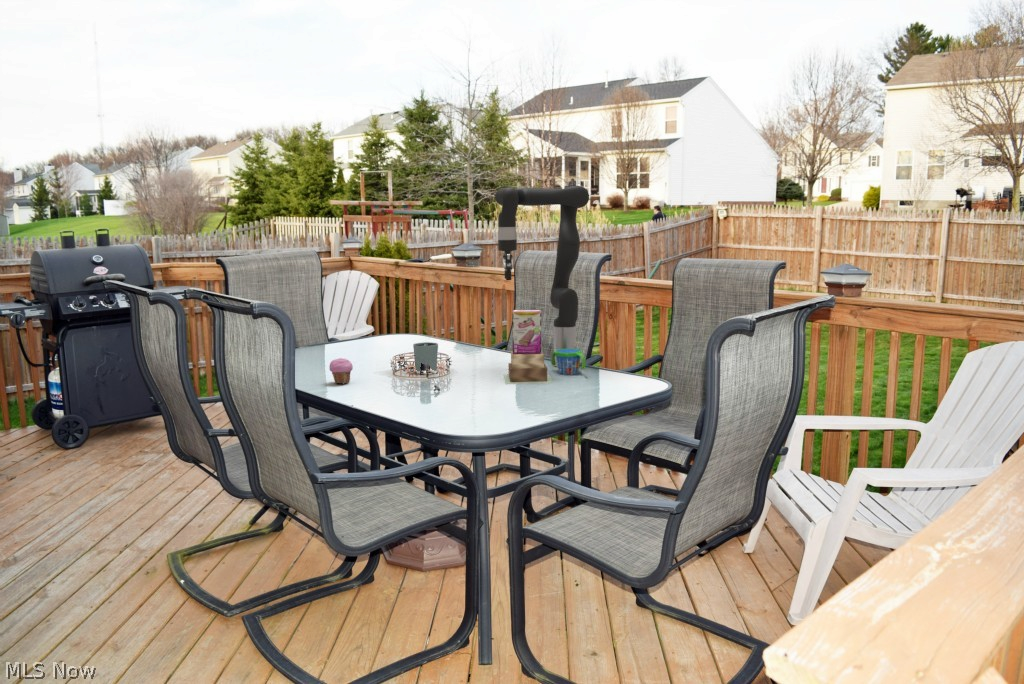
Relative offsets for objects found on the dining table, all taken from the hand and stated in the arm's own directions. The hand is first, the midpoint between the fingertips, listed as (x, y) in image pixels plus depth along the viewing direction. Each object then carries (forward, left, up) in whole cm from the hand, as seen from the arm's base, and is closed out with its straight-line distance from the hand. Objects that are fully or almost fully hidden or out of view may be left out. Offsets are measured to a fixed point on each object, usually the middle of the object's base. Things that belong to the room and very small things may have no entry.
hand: (508, 279), depth 313 cm
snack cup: (-23, +9, -38) cm, 46 cm away
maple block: (-6, +18, -32) cm, 37 cm away
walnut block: (-6, +18, -37) cm, 41 cm away
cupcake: (+66, +12, -38) cm, 77 cm away
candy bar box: (-6, +18, -27) cm, 33 cm away
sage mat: (-6, +18, -38) cm, 43 cm away
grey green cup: (+34, -5, -38) cm, 51 cm away
